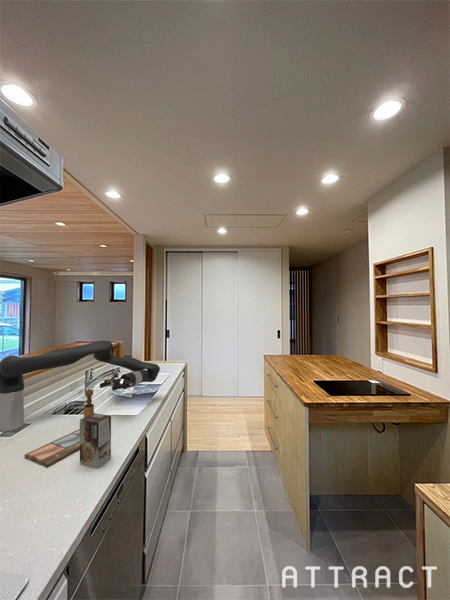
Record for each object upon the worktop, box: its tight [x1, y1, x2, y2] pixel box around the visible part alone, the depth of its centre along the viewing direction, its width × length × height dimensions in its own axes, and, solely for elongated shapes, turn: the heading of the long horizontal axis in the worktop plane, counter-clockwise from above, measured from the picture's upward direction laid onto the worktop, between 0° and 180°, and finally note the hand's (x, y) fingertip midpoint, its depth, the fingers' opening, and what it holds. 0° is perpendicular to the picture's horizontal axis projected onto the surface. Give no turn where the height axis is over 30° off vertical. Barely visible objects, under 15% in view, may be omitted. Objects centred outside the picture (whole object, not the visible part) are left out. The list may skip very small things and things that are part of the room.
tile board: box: [24, 428, 80, 468], centre depth 109 cm, size 14×27×2 cm, turn 155°
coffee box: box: [79, 412, 112, 469], centre depth 98 cm, size 9×6×16 cm
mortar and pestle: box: [83, 389, 95, 418], centre depth 118 cm, size 7×6×18 cm
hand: (106, 387), depth 129 cm, fingers open, 8 cm apart
